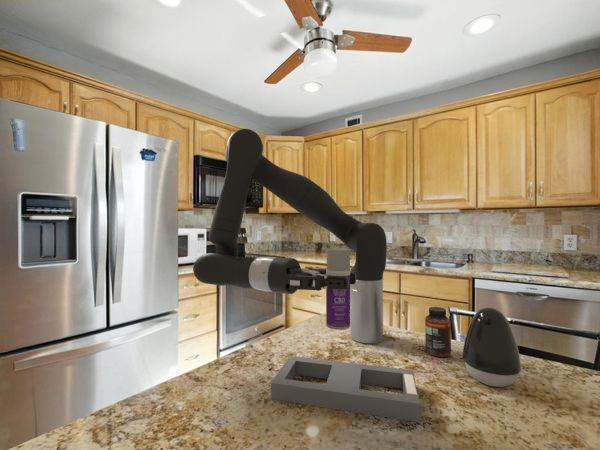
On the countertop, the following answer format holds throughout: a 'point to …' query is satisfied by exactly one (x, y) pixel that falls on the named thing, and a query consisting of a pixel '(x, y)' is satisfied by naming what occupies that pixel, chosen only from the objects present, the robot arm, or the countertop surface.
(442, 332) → the supplement bottle
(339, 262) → the container
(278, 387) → the socket board
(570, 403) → the countertop surface
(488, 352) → the pump dispenser
